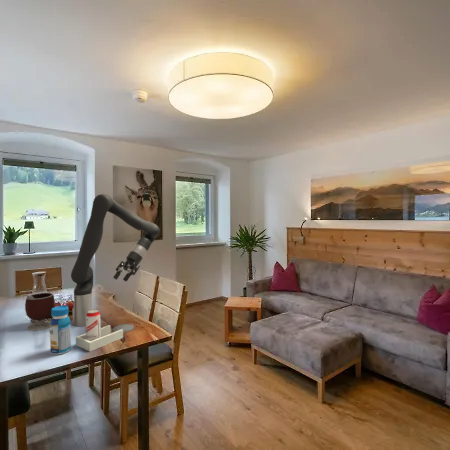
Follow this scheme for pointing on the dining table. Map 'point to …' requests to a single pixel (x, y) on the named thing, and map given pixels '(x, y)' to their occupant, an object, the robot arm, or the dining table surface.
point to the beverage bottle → (60, 331)
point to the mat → (124, 327)
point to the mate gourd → (39, 309)
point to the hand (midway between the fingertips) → (119, 279)
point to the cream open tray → (99, 339)
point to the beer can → (93, 325)
